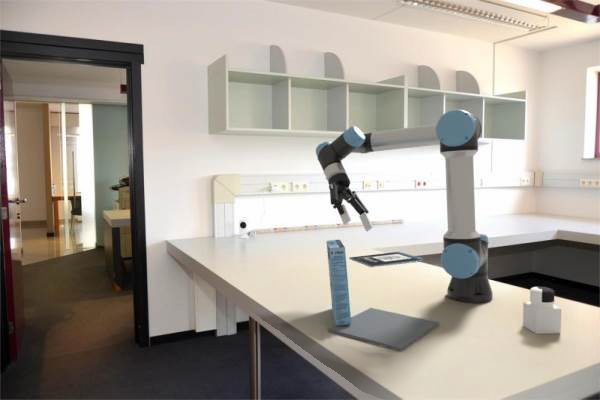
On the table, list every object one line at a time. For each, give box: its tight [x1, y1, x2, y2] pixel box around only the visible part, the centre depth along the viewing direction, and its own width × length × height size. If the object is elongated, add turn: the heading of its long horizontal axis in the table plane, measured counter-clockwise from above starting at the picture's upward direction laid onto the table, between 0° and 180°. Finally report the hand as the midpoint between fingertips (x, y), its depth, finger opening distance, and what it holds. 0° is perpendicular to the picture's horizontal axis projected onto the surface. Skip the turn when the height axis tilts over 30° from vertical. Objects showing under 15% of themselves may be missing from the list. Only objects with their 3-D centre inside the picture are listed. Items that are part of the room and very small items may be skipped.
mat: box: [327, 307, 439, 352], centre depth 131 cm, size 23×24×1 cm
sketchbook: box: [349, 251, 424, 268], centre depth 227 cm, size 22×30×2 cm
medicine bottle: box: [522, 286, 562, 335], centre depth 128 cm, size 7×7×12 cm
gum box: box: [326, 239, 352, 326], centre depth 140 cm, size 20×5×23 cm, turn 179°
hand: (358, 226), depth 155 cm, fingers open, 13 cm apart
